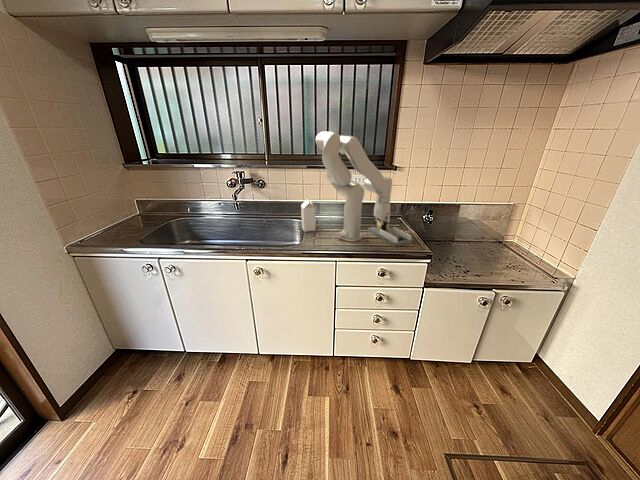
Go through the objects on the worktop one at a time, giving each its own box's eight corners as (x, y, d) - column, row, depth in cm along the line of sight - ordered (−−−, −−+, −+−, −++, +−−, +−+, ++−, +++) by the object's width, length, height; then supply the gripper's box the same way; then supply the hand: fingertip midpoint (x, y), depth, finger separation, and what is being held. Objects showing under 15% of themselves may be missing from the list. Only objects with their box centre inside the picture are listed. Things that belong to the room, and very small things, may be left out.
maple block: (381, 230, 151) (381, 222, 149) (376, 227, 155) (376, 220, 153) (388, 229, 153) (388, 221, 151) (382, 226, 157) (383, 218, 155)
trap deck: (393, 246, 135) (394, 239, 133) (367, 230, 156) (368, 224, 154) (411, 243, 140) (412, 235, 138) (383, 227, 161) (384, 221, 159)
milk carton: (304, 232, 155) (303, 201, 147) (301, 228, 161) (300, 198, 154) (315, 230, 157) (315, 200, 149) (312, 226, 163) (312, 197, 156)
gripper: (369, 196, 152) (367, 225, 159) (387, 203, 138) (384, 234, 145) (380, 195, 155) (377, 223, 162) (398, 202, 140) (394, 232, 148)
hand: (380, 228), depth 153 cm, fingers closed on maple block, 5 cm apart
